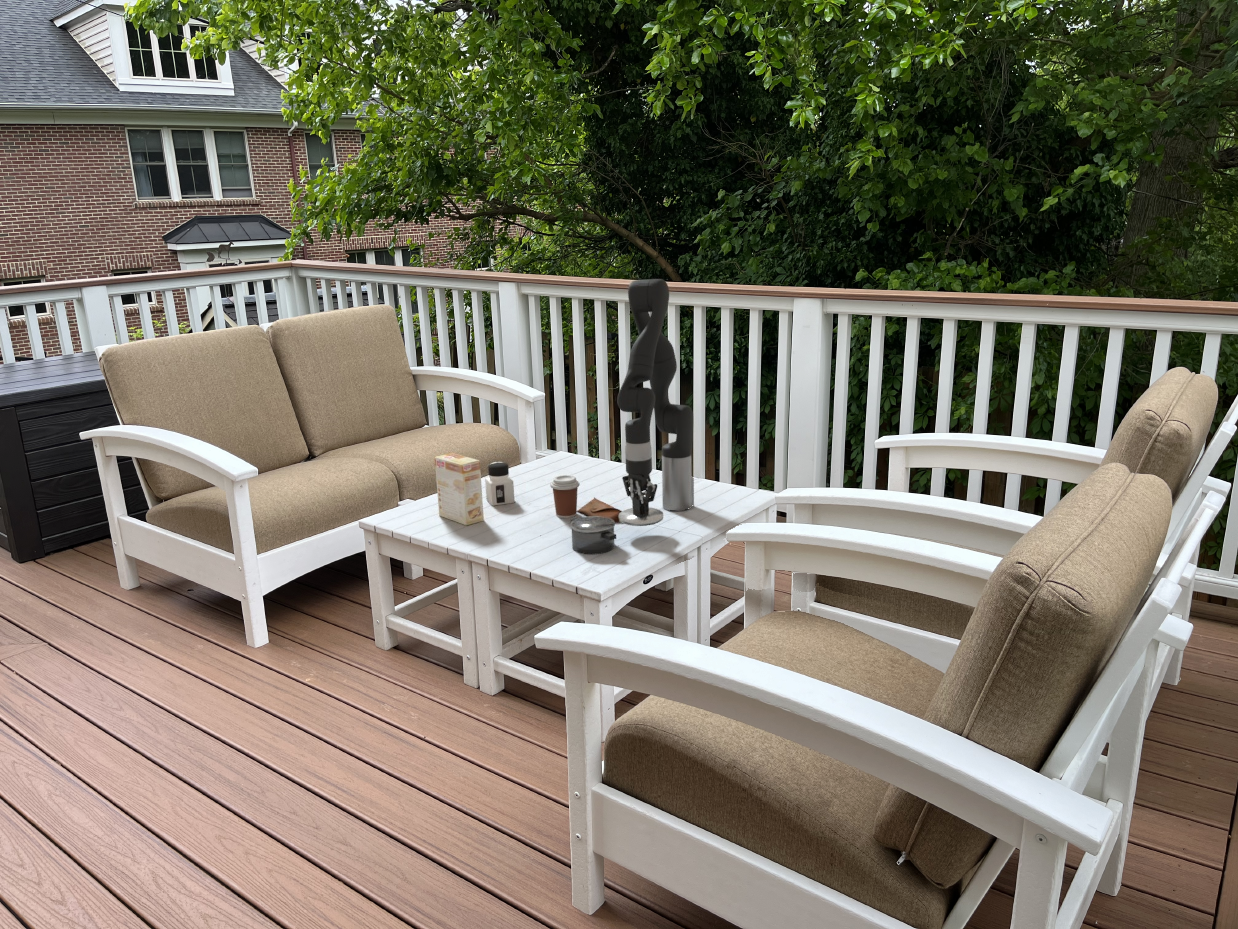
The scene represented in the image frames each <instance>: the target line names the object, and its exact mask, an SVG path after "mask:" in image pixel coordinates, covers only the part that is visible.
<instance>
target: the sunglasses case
mask: <svg viewBox="0 0 1238 929" xmlns="http://www.w3.org/2000/svg"><path fill="white" fill-rule="evenodd" d="M622 511H623V510H621V509H618V508H616V507H614V506H612V505H610V504H608V503H606V502H604V501H601V500H600V499H597V497H595V496H594V497H593V499H591V500H590V501H588V502H587V503H585V504H584V505H583V506H582V507H580V508H578V510H577V513H578V514H581V515H583V516H584V517H589V516H601V517H607V518H610V519H612V520H614V522H615V524H616V523H621V522H620V521H619V514H620V513H621V512H622Z"/></svg>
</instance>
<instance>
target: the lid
mask: <svg viewBox="0 0 1238 929" xmlns="http://www.w3.org/2000/svg"><path fill="white" fill-rule="evenodd" d="M644 499H645V496H644ZM632 505H633V507H632V508H627V509H624V510H621V511H622V512H621V513H620V514H619V521H620V522H619V523H622V524H624V525H627V526H632V527H633V526H634V527H645V526H652V525H656V524H658V523H660V522H662V521H663V520H664V512H663V511H662V510H660V509H658V508H655V507H649V513H648V514H647V515H644V516H643V515H641V500H640V496H637V497H634V498H633V504H632Z"/></svg>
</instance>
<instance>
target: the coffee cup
mask: <svg viewBox="0 0 1238 929" xmlns="http://www.w3.org/2000/svg"><path fill="white" fill-rule="evenodd" d="M579 486H581V484H580V482H579V480H577V477H576V476H574V475H570V474H568V475H567V474H564V475H561V474H560V475H557V476H555V477H554V478H553V480H552V482H550V488H551V489H552V493H553V500H554V508H555V516H556V517H557V518H561V519H569V518H571V519H572V518H573V517H574V518H575V517H576V516H577V513H578V512H577V511H578V510H577V508H578V488H579Z"/></svg>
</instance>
